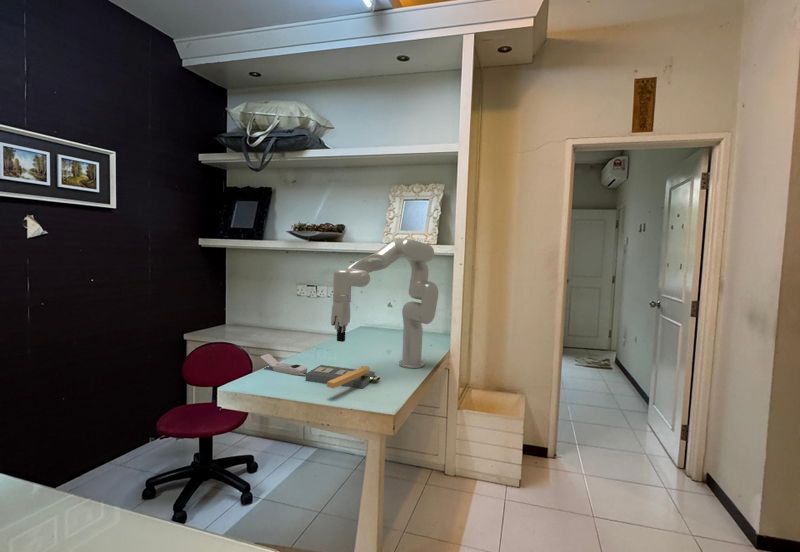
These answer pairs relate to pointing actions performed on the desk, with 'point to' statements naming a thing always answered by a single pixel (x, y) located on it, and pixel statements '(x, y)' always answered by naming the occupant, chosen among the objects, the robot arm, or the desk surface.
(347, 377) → the orange wooden bar
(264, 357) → the pale grey angled bar
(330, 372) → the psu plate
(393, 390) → the desk surface
